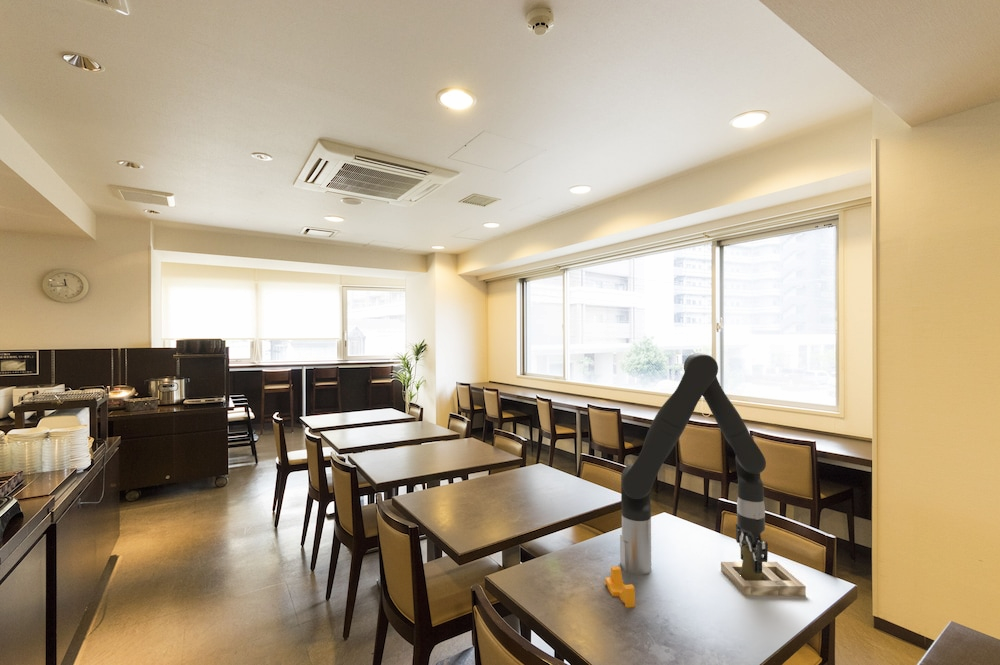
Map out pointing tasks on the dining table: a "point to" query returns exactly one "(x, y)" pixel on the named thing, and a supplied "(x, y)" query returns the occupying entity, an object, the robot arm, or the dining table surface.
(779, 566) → the socket block
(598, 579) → the dining table surface
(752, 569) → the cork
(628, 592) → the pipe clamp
